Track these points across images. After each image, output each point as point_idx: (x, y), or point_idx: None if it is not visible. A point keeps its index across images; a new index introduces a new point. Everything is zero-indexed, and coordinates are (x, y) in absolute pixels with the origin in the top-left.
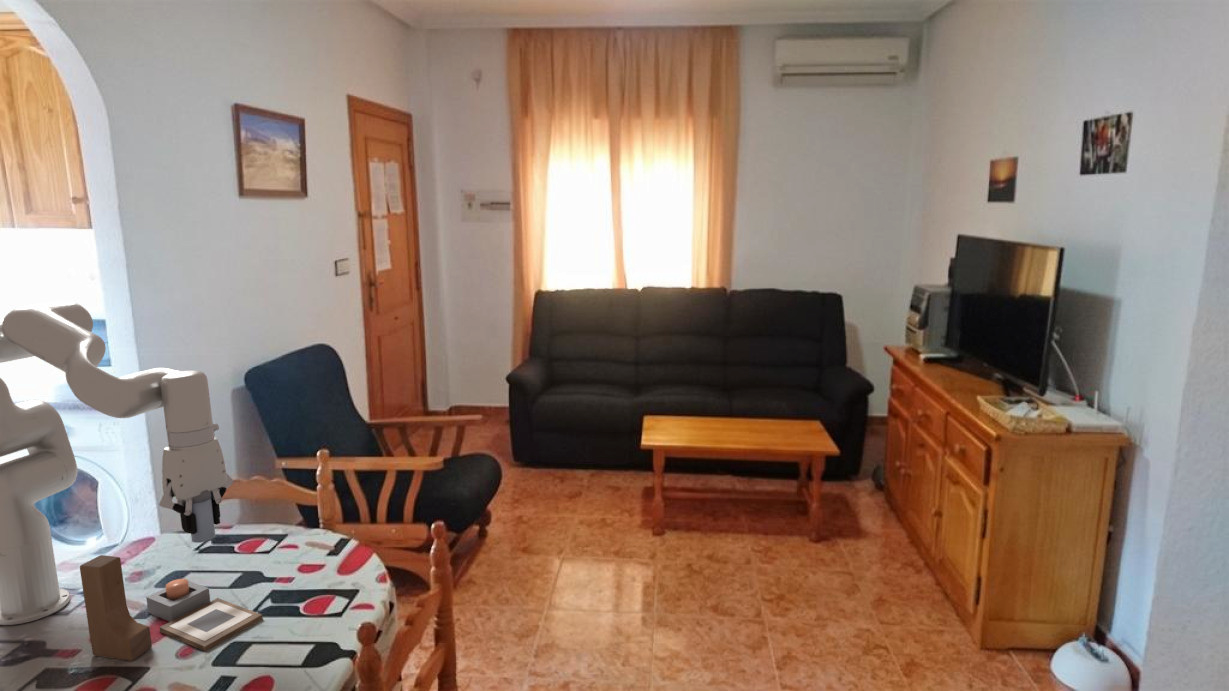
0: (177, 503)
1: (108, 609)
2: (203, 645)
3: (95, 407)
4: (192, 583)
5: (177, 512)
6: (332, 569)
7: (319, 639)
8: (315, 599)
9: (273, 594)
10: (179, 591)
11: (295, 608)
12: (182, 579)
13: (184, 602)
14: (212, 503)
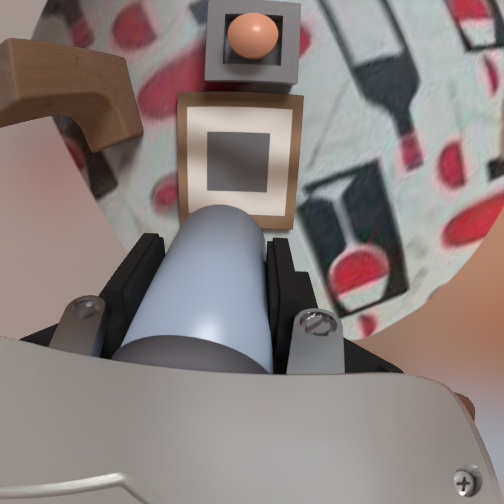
0: (53, 347)
1: (54, 114)
2: (181, 220)
3: None
4: (295, 32)
5: (75, 302)
6: (454, 207)
7: None
8: (370, 255)
9: (364, 174)
10: (243, 55)
11: (338, 247)
12: (272, 28)
13: (237, 80)
14: (274, 367)
